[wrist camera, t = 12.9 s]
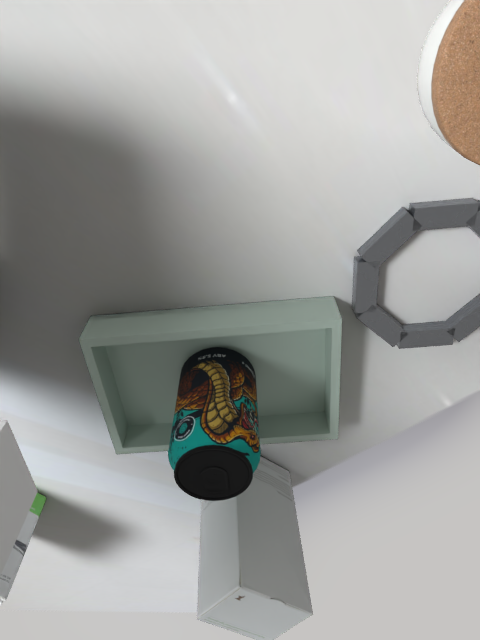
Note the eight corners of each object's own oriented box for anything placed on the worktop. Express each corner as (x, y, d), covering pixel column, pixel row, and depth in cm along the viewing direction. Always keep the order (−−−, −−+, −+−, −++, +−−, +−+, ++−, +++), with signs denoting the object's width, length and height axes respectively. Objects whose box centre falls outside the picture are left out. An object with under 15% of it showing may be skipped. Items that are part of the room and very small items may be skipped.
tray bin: (124, 426, 48) (116, 454, 45) (90, 315, 41) (78, 339, 38) (331, 411, 47) (338, 438, 44) (333, 296, 40) (342, 318, 37)
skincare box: (201, 470, 52) (189, 619, 39) (237, 438, 49) (238, 585, 36) (258, 500, 55) (265, 648, 42) (295, 470, 52) (315, 618, 39)
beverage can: (252, 339, 42) (259, 438, 31) (257, 398, 45) (264, 503, 35) (175, 345, 42) (157, 445, 32) (186, 402, 46) (173, 509, 35)
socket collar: (350, 344, 43) (352, 352, 42) (356, 208, 36) (359, 213, 35) (492, 333, 42) (499, 341, 41) (526, 193, 36) (535, 197, 35)
